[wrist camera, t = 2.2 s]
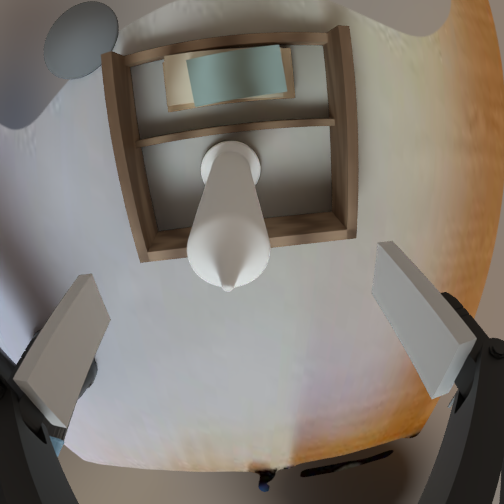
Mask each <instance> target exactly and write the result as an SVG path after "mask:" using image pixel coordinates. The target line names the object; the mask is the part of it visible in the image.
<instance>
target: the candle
mask: <svg viewBox="0 0 504 504" xmlns="http://www.w3.org/2000/svg"><path fill="white" fill-rule="evenodd" d="M260 172H261V167H260V162H259V159H258V157H257V155H256V153H255V152H254V151H253V150H252V149H251V148H250V147H249V146H248V145H246V144H244V143H242V142H238V141H223V142H220V143H218V144H216V145H214V146H213V147H211V148H210V149H209V150H208V151H207V153H206V154H205V156H204V158H203V160H202V163H201V177H202V180H203V182H204V184H205V188H204V191H203V194H202V197H201V200H200V203H199V206H198V209H197V213H196V216H195V219H194V222H193V225H192V229H191V232H190V235H189V238H188V242H187V256H188V260H189V263H190V265H191V267H192V269H193V270H194V271H195V273H196V274H197V275H198V276H199V277H200V278H202V279H203V280H205V281H206V282H208V283H210V284H212V285H215V286H219V287H222V288H223V290H225V291H227V292H229V291H232V290H233V289H234V287H238V286H242V285H245V284H247V283H250V282H251V281H253V280H254V279H256V278H257V277H258V276H259V275H260V274H261V273H262V272H263V271H264V269H265V268H266V266H267V264H268V261H269V257H270V241H269V237H268V233H267V230H266V226H265V222H264V218H263V214H262V211H261V207H260V203H259V200H258V196H257V192H256V188H255V186H256V184H257V182H258V180H259V177H260Z"/></svg>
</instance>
